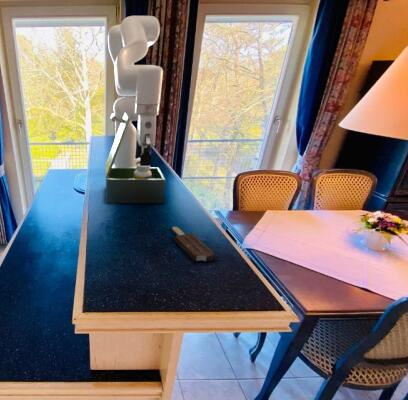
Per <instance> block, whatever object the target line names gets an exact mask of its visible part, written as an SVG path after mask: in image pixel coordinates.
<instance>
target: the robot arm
mask: <svg viewBox="0 0 408 400" xmlns="http://www.w3.org/2000/svg"><path fill="white" fill-rule="evenodd" d="M160 31H161V25H160V22H159V19H158V18H157V17H155V16H153V15H130V16H127V17H125V18H123V20H122V21H121V23H120V24H115V25H113V26H111V27H110V28H109V30H108V34H107V45H108V51H109V54H110V58H111V61H112V63H113V67H114V68H113V69H114V82H115V83H114V84H115V91H116V93H117V95H119V96H121V97H119V98H117V99H116V100H115V101H114V103H113V114H115V115H116V117H119V118H122V119H123V116H124V114H125V112H126V113H127V114H128V115H129V117H130V121H129V124H128V127H127V129H126V132H125V134H124V137H123V140H122V142H121V145H120V148H119V150H118V153H117V155H116V158H115V161H114V163H113V166H112V167H132V168H136V166H137V164H138V163H140V165H141V166H149V165H150V166H151V157H152V148H154V147H155V146H156V134H157V133H156V132H157V116H159V114H160V105H161V96H162V85H163V76H164V70H163V68H162V67H161V66H159V65H154V64H135V63H137V62H139V61H140V60H142V59H143V58H144V57H146V55H147V53H148V51H149V48H150V46H153V45H154V44H155V43H156V42H157V41H158V40H159V36H160V33H161V32H160ZM134 121H135V122H136V121H137V128H136V127H135V126H134V124H133V122H134ZM120 124H121V122H118V121H115V122H114V139H115V138H116V135H117V133H118V130H119V127H120ZM137 157H138V158H137Z"/></svg>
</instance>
